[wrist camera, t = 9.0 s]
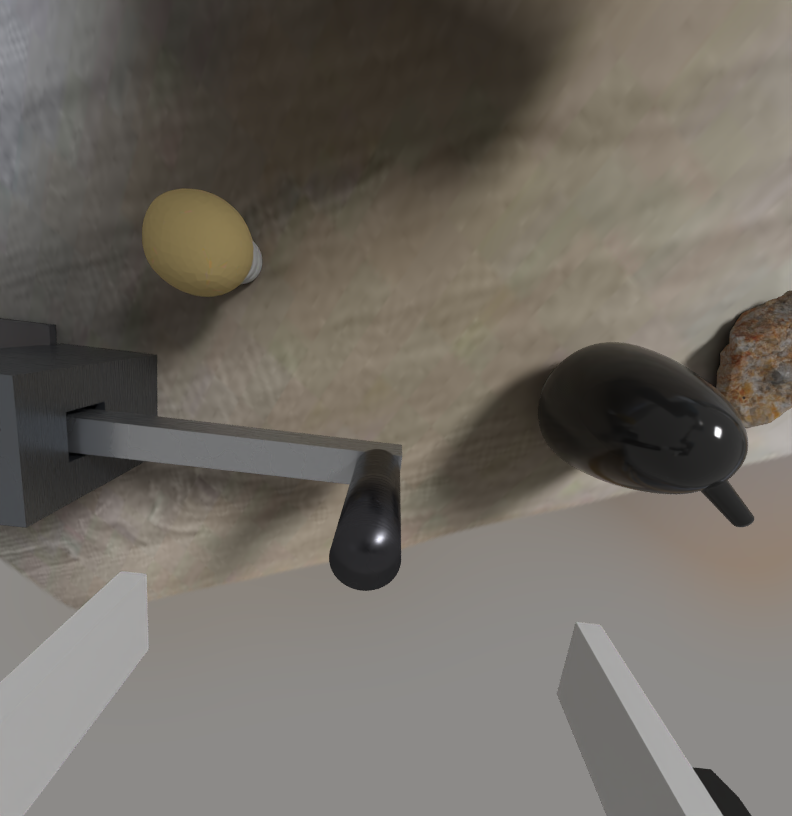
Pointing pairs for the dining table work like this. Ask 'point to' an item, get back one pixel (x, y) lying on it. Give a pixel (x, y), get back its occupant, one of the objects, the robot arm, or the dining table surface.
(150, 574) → the dining table surface
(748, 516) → the pump dispenser
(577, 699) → the robot arm
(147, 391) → the bearing block
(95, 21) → the dining table surface
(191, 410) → the dining table surface
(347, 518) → the shaft
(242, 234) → the light bulb
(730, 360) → the rock
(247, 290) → the dining table surface
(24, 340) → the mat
